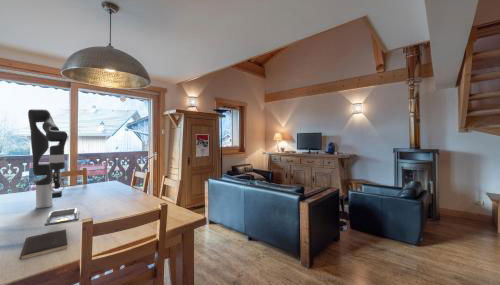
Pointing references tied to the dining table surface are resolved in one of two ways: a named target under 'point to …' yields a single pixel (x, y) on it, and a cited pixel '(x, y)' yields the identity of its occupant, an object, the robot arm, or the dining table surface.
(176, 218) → the dining table surface
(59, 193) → the watch
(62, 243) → the hardcover book
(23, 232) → the dining table surface
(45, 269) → the dining table surface
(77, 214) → the rack
